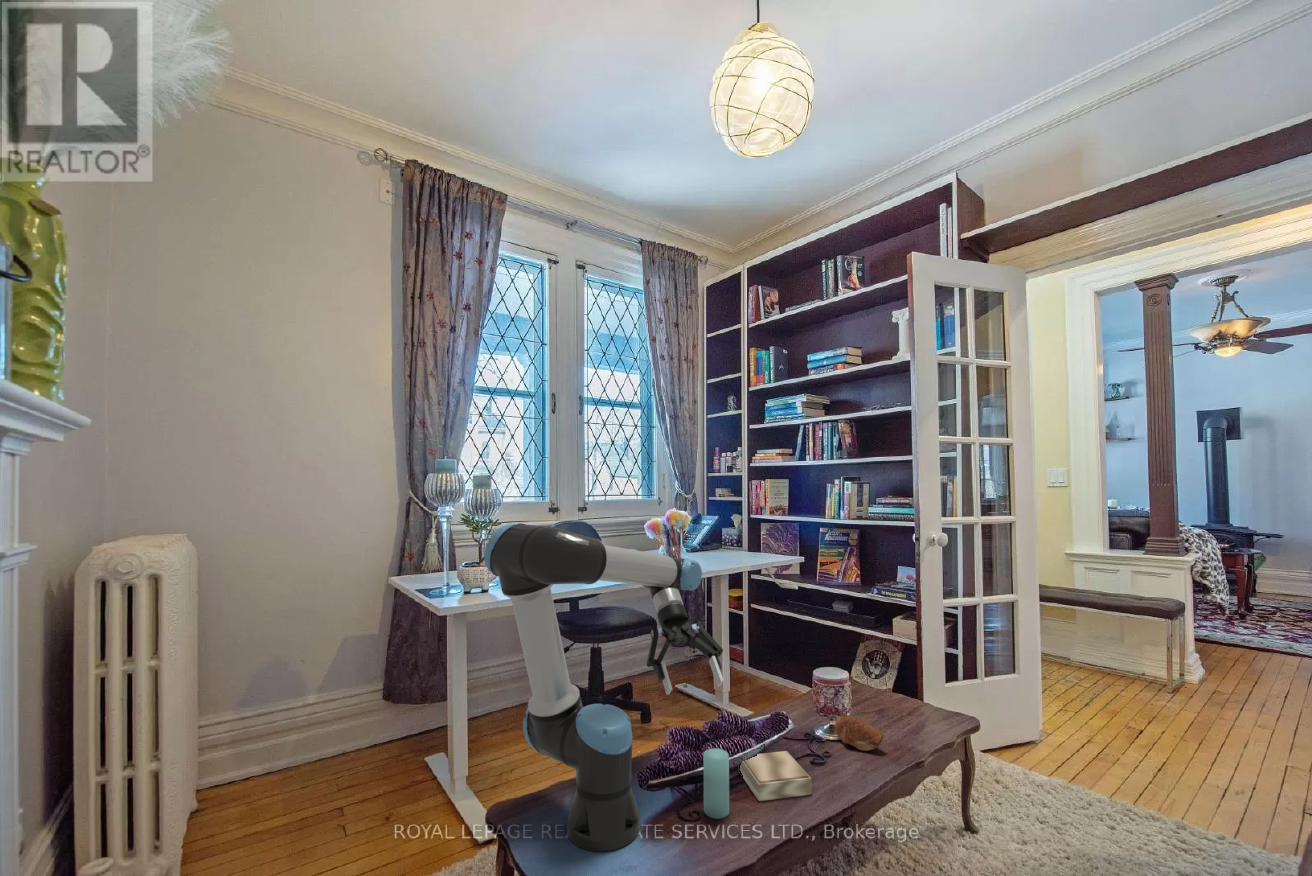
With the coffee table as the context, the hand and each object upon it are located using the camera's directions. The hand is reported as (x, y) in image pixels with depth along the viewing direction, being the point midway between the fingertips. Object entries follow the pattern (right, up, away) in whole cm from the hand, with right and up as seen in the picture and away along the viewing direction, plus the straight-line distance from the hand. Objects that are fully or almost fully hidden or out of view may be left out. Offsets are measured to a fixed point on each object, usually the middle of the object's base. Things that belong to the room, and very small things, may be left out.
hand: (695, 687), depth 136 cm
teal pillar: (+4, -22, -11) cm, 25 cm away
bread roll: (+46, -24, +19) cm, 55 cm away
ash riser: (+19, -23, 0) cm, 30 cm away
